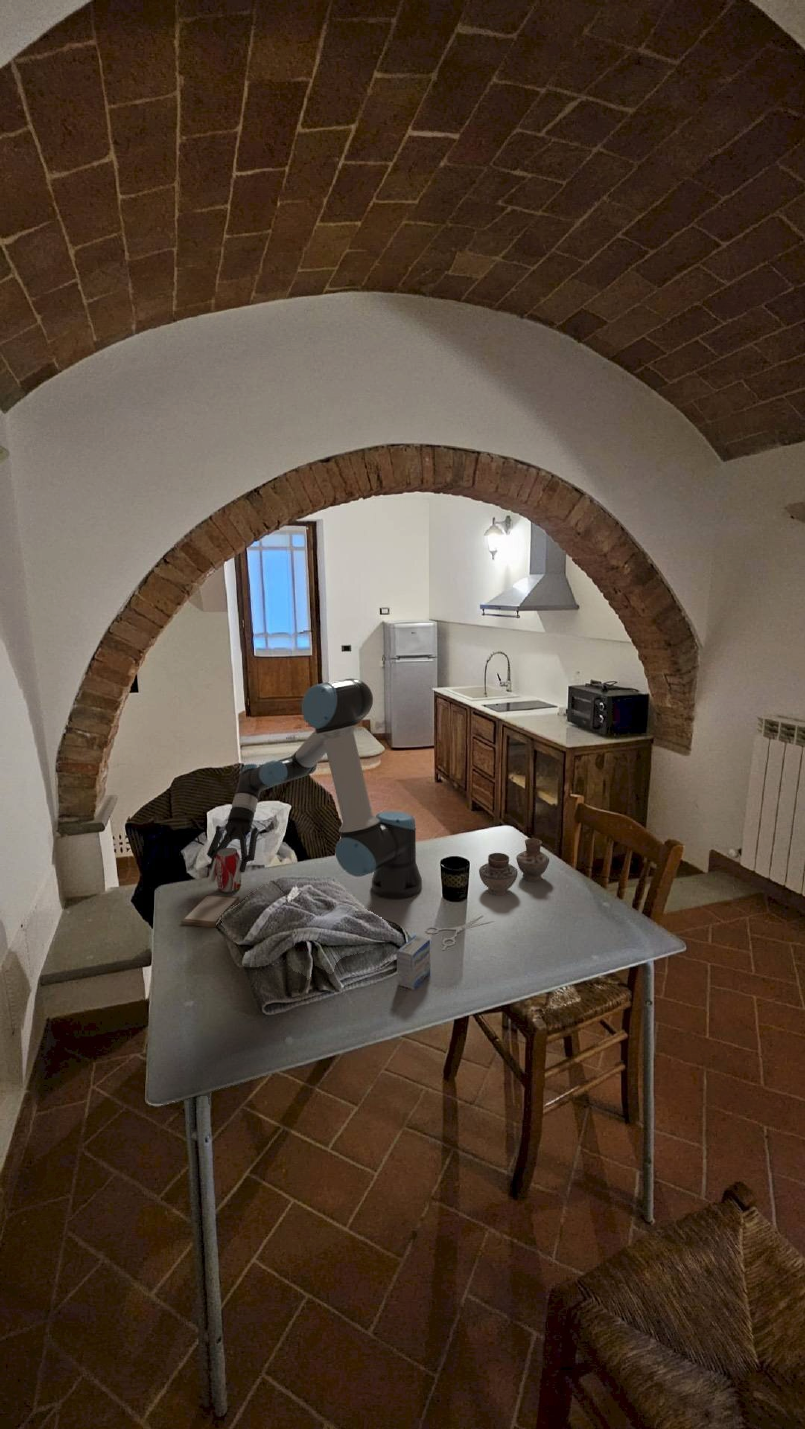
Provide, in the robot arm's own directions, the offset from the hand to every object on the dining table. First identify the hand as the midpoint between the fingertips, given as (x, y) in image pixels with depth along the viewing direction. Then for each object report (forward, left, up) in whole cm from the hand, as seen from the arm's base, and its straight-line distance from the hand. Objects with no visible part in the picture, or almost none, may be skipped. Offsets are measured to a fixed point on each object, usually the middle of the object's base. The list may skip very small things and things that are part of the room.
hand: (223, 881), depth 185 cm
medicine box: (-62, +33, -4) cm, 70 cm away
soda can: (0, -3, -4) cm, 6 cm away
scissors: (-71, +10, -5) cm, 72 cm away
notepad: (-1, +11, -4) cm, 11 cm away
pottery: (-85, -18, -4) cm, 87 cm away
